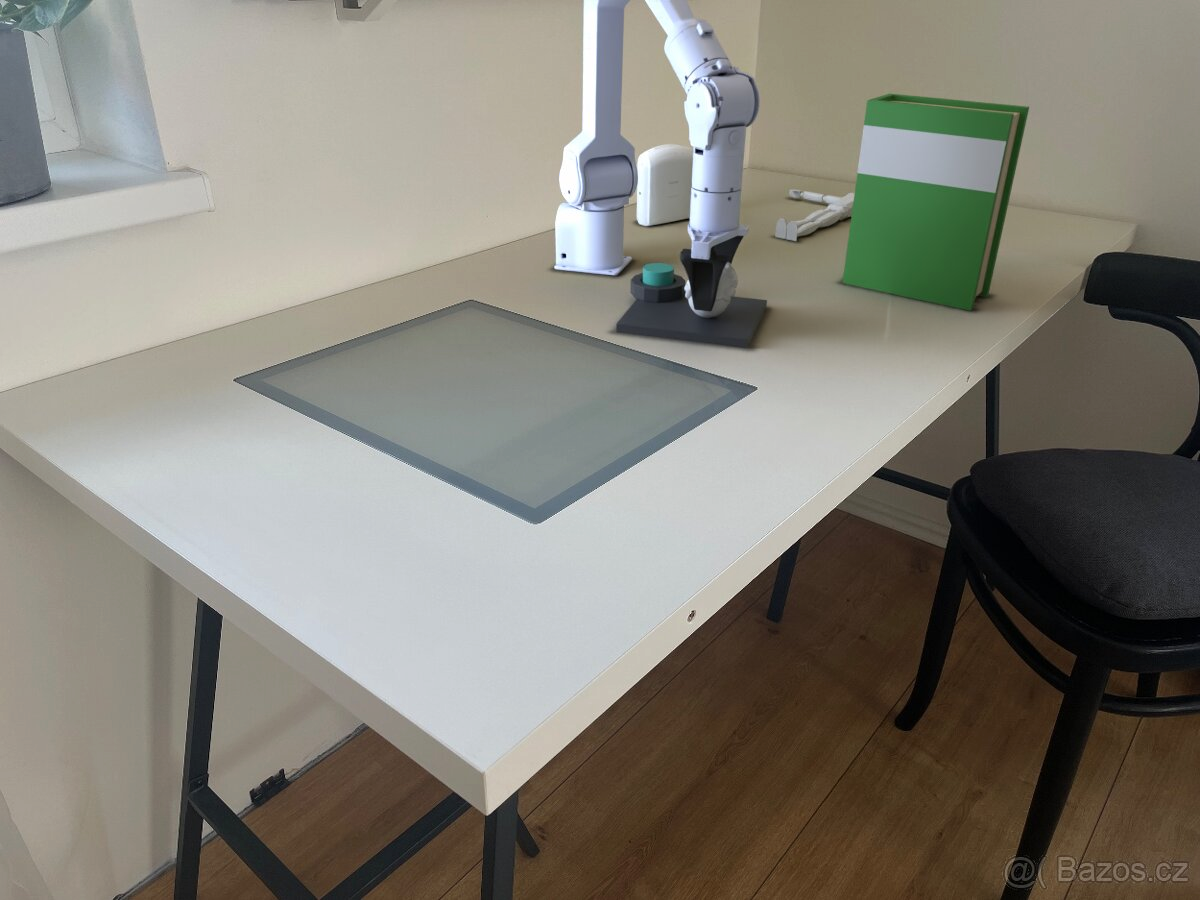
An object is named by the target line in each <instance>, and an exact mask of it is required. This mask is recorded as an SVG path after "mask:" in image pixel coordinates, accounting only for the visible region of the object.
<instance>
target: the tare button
mask: <svg viewBox="0 0 1200 900" xmlns="http://www.w3.org/2000/svg"><path fill="white" fill-rule="evenodd" d="M642 273H643V283H644V284H647V285H652V286H668V285H671V284H673V283H674V274H675V267H674V265H671V264H669V263H664V262H651V263H647V264H645V265H643V266H642Z"/></svg>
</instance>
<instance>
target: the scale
mask: <svg viewBox="0 0 1200 900" xmlns="http://www.w3.org/2000/svg"><path fill="white" fill-rule="evenodd" d="M686 284H687V281H686V279H684V277H683V276H682V275H679V274H677V273H674V283H673V284H671V285H668V286H652V285H647V284H644V283H643V272H641V273H638V274H635V275H634V276H633V277H631V279H630V294H631V296H632V297H633V298H634V299H636V300H635V301H634V302H633V303H632V304H631V305H630V306H629V308H628V309H627V310H626V311H625V312H624V314H623V315H622V316H621V318H619V320H618V321H617V322H616V326H615V327H616V329H615V331H616V333H619V334H627V335H636V336H644V337H652V338H660V339H667V340H677V341H685V342H693V343H701V344H710V345H717V346H726V347H734V348H742V349H749V347H750V344H751V342H752V341H753V338H754V335H755V334H756V332H757V329H758V327H759V326H760V324H761V321H762V319H763V317H764V315H765V312H766V310H767V305H768V300H767V299H761V298H751V297H741V296H735V295H734V296H733V297H731V301H730V304H729V305H728V306H727V307H726V309H725V310H724V311H723V312H722V313H721V314H720V315H718V316H716V317H712V318H705V317H701V316H699V315H697V314H696V313H695V312H694V311H693V310H692V309H691V307H690V305H689V301H688V299H687V298H686V297H685V294H686V291H685V289H684V288H685V286H686Z"/></svg>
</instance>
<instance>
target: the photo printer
mask: <svg viewBox="0 0 1200 900" xmlns="http://www.w3.org/2000/svg"><path fill="white" fill-rule="evenodd" d="M636 167H637V171H638V184H637V188H636V220H637V223H638V224H639V225H641V226H644V227H650V226H655V225H661V224H666V223H671V222H676V221H683V220H685V219H690V207H691V189H692V169H693V149H692V148H691V147H689V146H686V145H685V146H684V145H681V144H678V143H677V144H676V143H667V144H661V145H657V146H654V147H651V148H649V149H647V150H645V151H643V152H642V153H641V154H640V155H639V156H638V159H637V163H636Z"/></svg>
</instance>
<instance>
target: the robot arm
mask: <svg viewBox="0 0 1200 900" xmlns="http://www.w3.org/2000/svg"><path fill="white" fill-rule="evenodd" d="M644 1H645V3H646V4H647V6H648V7H649V9H650V10H651V12H652V14H653V15H654V17H655V19H656V20H657V21H658V23H659V25H660V26H661V28H662V29H663V31H664V33H666V35H667V36H666V39H665V42H664V46H663V47H664V54H665V55H666V57H667V59H668V62H669V63H670V65H671V68H672V69H673V71H674V73H675V75H676V77H677V79H678V81H679V82H680V84H681V87H682V88H683V90H684V92H685V93H686V100H684V102H683V104H684V105H683V106H684V107H683V109H684V114H685V119H686V122H687V124H688V129H689V133H688V134H689V135H688V141H690V142H689V143H690V146H691V147H693V149H692V151H693V169H692V189H691V207H690V218H689V223H688V224H687V233H688V235H689V237H690V239H691V248H682V250H681V251H680V252H679V259H680V262H681V265H682V266H683V268H684V271H685V273H686V276H687V278H688V279H689V283H690V288H691V295H692V301H693V306H694V309H695V310H701V311H712V309H713V306H714V303H715V299H716V295H717V290H718V285H719V281H720V278H721V275H722V272H723V270H724V268H725V265H726V264H727V262H729V263H731V265H732V263H733V260H734V257H735V256H736V253H737V250H738V248H739V246H740V244H741V242H742V240H743V239H744V237H745V236H747V235H748V234H749V231H750V226H748V225H743V224H740V212H741V202H742V201H741V200H742V188H743V187H742V186H743V176H744V175H743V173H744V161H745V150H746V149H745V147H746V135H747V128H748V127H750V126H752V125H753V124H754V122H755V120H757V117H758V114H759V110H760V104H761V103H760V92H759V88H758V86H757V83H756V81H755V78H754V76H753V75H752V74H750V73H749V72H747V71H741V70H740V68H739V67H738V66H733V64H732V63H731V61H730V59H729V56H728V55H727V53H726V51H725V50H724V48H723V46H722V44H721V43H720V40H719V39H718V37H717V35H716V34H715V32H714V31H715V30H714V28H713V26H712V24H711V23H710V22H709V21H707V20H705V19H703V18H697V17H695V16H694V14H693V11H692V9H691V7H690V5H689V2H688V0H644ZM629 2H631V0H583V26H582V27H583V33H582V34H583V36H582V37H583V39H582V40H583V41H582V44H583V45H582V53H583V54H582V125H581V126H582V129H581V131H580V133H579V134H577V136H575V137H574V138H573V139H572V140H570V142H568V143H567V144H566V145H565V146H564V147H563V155H562V162H561V163H562V164H561V167H560V171H559V181H558V182H559V188H560V191H561V195H562V196H563V198H564V199H565V202H561V203H560V205H559V206H558V208H557V212H556V216H555V225H554V229H555V230H554V231H555V265H554V268H553V269H554V270H559V271H569V272H578V273H586V274H596V275H605V276H614V277H615V276H618V275H619V274H620V273H621V272H622V271H623V270H624V269H625V268H626V267H627V266H628V265H629V264H630V263H631V262H632V260H633V257H632V256H627V255H624V241H625V240H624V238H625V236H624V235H625V228H624V227H625V206H627V205H629V204H630V198H632V197H633V196H634V195H635V192H636V191H637V184H638V171H637V163H636V154H635V153H636V148H635V146H634V145H633V144H632V143H631V142H630V141H629V140H628V139H627V138H625V137H624V136H623V135H622V134H621V129H622V128H621V125H622V99H623V98H622V97H623V95H622V92H623V91H622V90H623V64H624V63H623V62H624V61H623V60H624V59H623V58H624V30H625V27H624V26H625V7H626V6H627V5H628V4H629ZM688 279H687V280H688Z"/></svg>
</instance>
